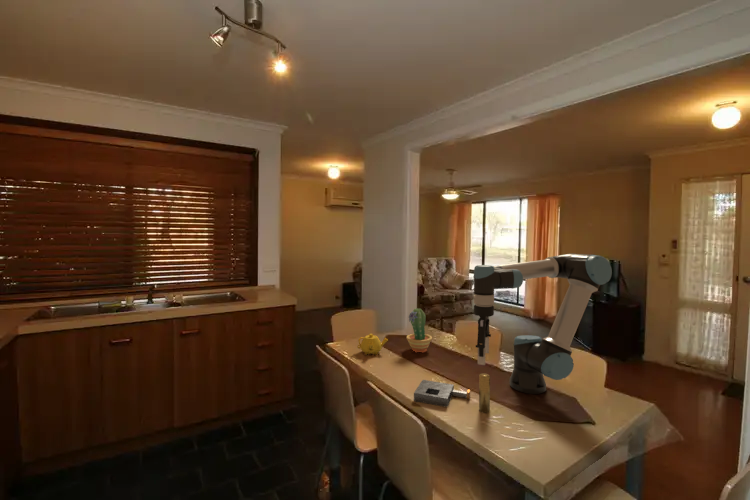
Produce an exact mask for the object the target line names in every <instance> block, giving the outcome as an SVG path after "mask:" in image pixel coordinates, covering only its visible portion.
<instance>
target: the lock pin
mask: <svg viewBox="0 0 750 500" xmlns="http://www.w3.org/2000/svg"><path fill="white" fill-rule="evenodd" d="M452 397H458V398H464V399H466V400H471V389H467V391H465V390H457V389H454V390H452Z"/></svg>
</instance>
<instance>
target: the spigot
mask: <svg viewBox="0 0 750 500" xmlns="http://www.w3.org/2000/svg"><path fill="white" fill-rule="evenodd" d="M478 377H479V378H478V379H479V380H478V381H479V382H478V391H479V392H478V402H479V404H478V410H479V412H481V413H484V414H488V413H490V411H491V406H490V405H491V404H490V403H491V396H490V395H491V393H490V392H491V375H489V374H488V373H479V375H478Z"/></svg>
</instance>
